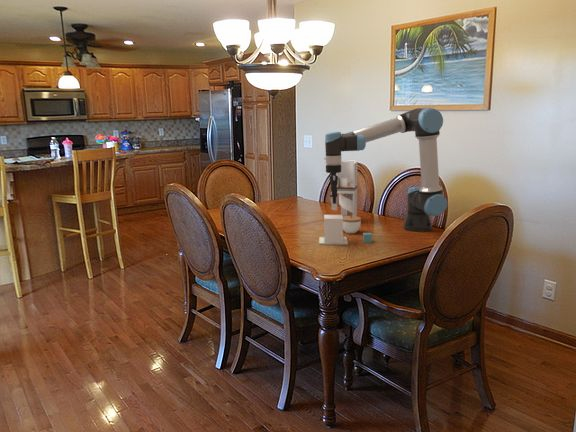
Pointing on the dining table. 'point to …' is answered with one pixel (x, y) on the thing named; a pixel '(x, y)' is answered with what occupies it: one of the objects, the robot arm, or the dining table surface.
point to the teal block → (367, 237)
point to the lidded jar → (351, 224)
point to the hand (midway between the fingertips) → (334, 207)
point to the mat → (321, 242)
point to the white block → (333, 229)
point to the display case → (348, 188)
